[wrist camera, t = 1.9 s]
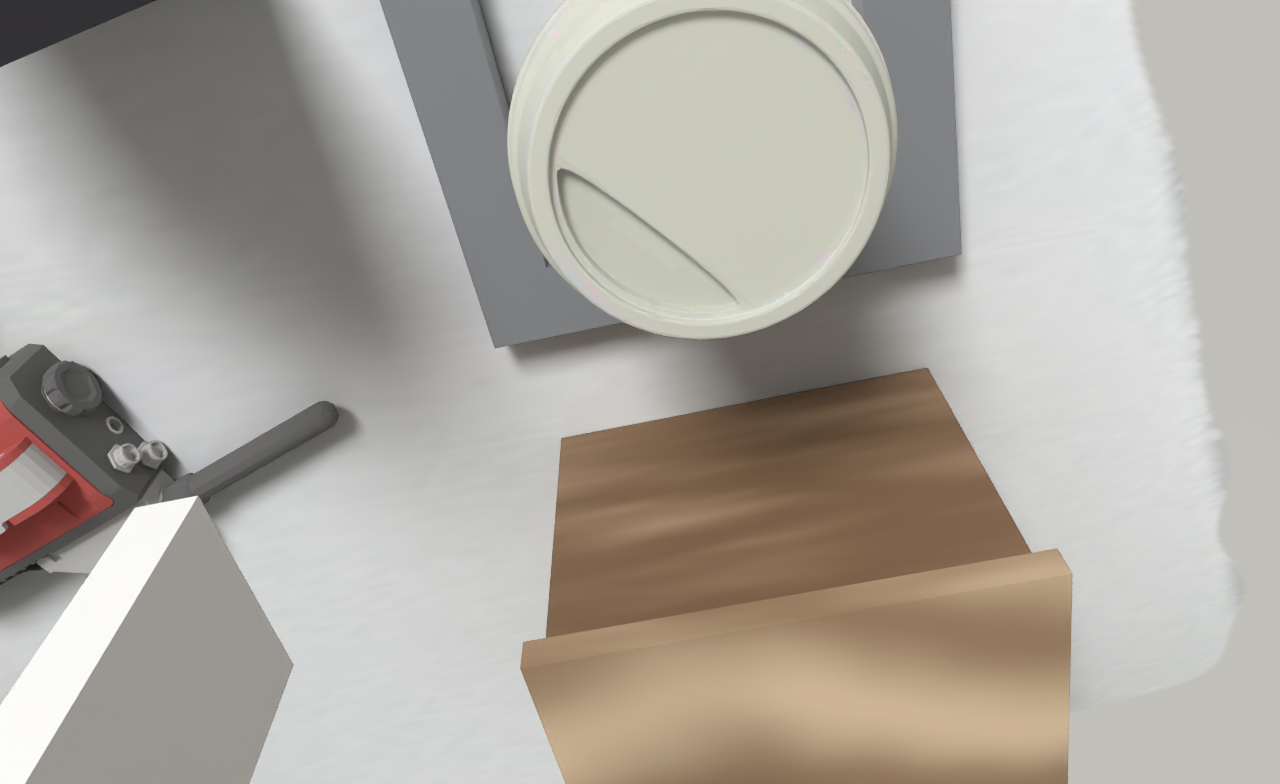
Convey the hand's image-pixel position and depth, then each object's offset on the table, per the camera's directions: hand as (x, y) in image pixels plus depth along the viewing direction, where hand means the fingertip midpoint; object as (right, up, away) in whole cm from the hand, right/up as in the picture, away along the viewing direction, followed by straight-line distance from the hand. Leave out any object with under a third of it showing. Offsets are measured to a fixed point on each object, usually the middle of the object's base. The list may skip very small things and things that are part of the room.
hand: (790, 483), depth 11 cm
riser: (+4, -5, +29) cm, 30 cm away
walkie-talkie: (-23, -1, +27) cm, 35 cm away
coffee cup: (-1, +12, +19) cm, 23 cm away
